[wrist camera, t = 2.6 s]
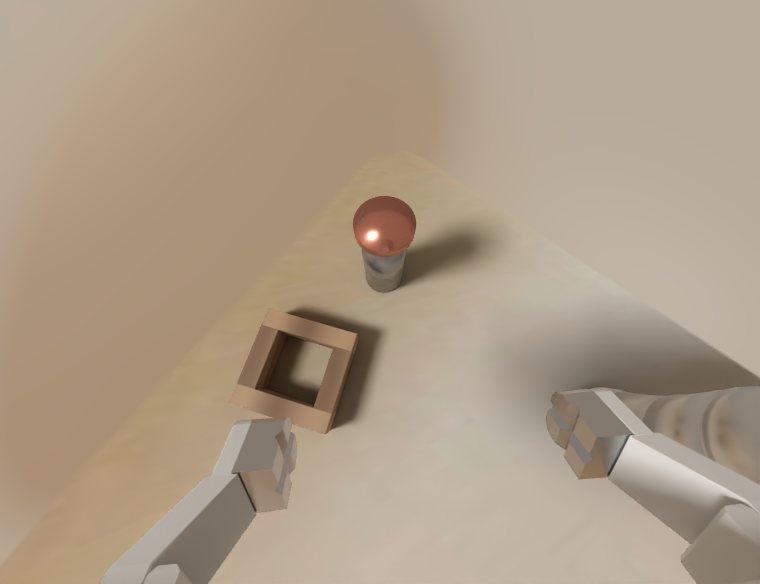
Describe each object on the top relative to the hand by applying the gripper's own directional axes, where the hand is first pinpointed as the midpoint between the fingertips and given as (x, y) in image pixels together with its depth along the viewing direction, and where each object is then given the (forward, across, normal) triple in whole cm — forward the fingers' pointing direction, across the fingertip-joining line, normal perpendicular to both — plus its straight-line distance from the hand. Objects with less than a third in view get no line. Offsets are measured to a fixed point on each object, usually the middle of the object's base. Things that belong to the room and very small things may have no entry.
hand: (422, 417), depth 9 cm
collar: (+17, +9, +13) cm, 23 cm away
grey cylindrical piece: (+24, 0, +6) cm, 25 cm away
